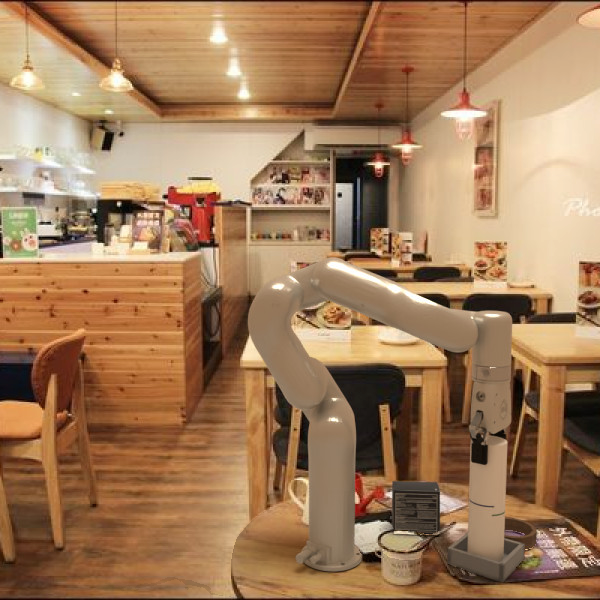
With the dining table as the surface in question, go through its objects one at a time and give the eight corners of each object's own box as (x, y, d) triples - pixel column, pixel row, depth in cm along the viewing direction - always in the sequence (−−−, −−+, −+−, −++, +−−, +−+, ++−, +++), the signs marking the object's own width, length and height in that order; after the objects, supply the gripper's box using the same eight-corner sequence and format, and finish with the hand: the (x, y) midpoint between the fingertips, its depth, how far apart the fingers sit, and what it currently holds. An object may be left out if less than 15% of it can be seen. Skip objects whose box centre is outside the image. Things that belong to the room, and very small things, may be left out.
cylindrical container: (465, 550, 143) (468, 434, 141) (500, 552, 142) (504, 436, 140) (469, 566, 136) (472, 444, 134) (505, 569, 135) (510, 446, 133)
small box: (437, 524, 157) (438, 480, 157) (440, 537, 151) (441, 491, 150) (391, 523, 159) (392, 479, 158) (392, 535, 152) (393, 489, 151)
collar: (525, 556, 142) (525, 542, 142) (477, 542, 148) (477, 528, 148) (542, 538, 150) (543, 525, 150) (496, 526, 157) (496, 513, 156)
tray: (502, 582, 131) (503, 565, 131) (447, 564, 138) (447, 548, 138) (524, 560, 140) (524, 543, 140) (471, 544, 147) (471, 528, 147)
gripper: (491, 382, 126) (489, 473, 128) (525, 368, 140) (522, 450, 142) (454, 377, 131) (452, 464, 133) (490, 364, 145) (488, 443, 146)
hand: (488, 457), depth 137 cm, fingers open, 8 cm apart
